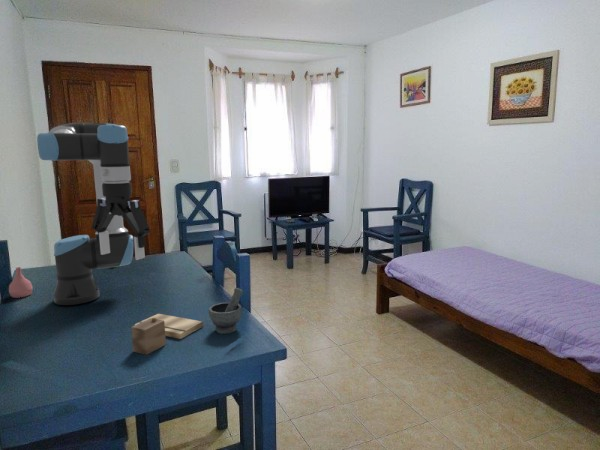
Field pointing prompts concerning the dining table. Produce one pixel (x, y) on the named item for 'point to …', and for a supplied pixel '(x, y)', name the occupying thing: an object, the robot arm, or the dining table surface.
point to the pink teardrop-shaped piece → (20, 285)
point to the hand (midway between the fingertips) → (122, 256)
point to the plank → (177, 325)
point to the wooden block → (148, 336)
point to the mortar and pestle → (227, 313)
